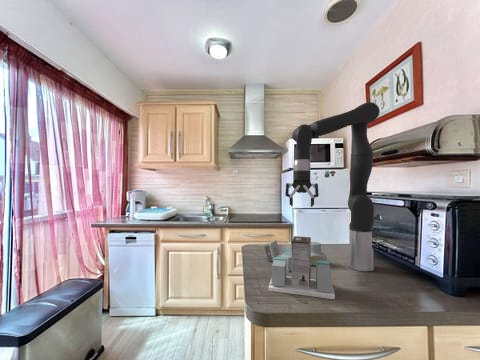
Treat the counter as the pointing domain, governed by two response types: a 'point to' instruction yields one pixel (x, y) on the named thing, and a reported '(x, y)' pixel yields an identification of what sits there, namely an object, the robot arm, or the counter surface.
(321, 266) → the grey u-shaped holder
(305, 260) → the coffee box
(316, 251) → the air freshener
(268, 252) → the electrical switch
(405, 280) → the counter surface
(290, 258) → the block
